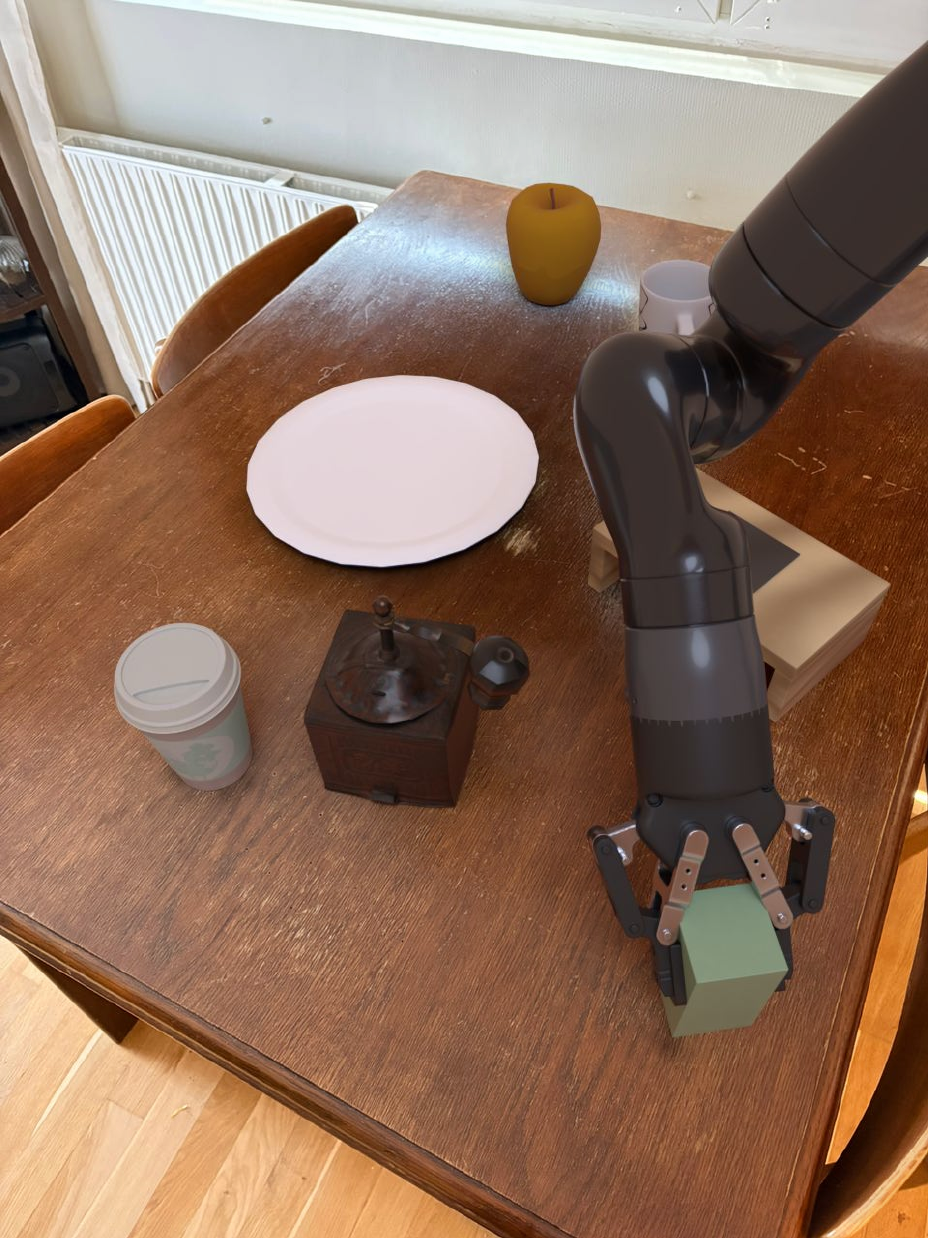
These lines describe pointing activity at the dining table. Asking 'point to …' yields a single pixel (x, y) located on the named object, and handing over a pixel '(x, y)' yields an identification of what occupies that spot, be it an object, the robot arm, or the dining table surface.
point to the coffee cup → (187, 702)
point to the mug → (674, 297)
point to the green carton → (725, 961)
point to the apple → (552, 240)
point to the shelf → (784, 595)
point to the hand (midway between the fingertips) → (725, 990)
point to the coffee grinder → (406, 704)
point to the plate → (392, 471)
